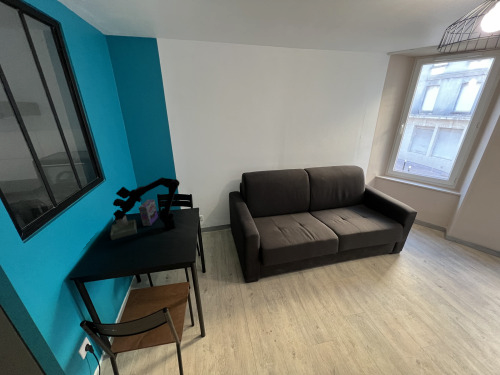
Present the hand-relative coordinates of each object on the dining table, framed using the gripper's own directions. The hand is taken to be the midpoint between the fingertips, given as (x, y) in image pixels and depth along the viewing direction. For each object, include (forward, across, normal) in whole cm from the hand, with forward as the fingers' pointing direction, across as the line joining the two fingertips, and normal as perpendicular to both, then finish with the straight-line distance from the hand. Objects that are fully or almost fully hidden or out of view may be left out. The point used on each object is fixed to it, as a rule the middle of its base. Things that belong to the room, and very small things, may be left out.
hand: (118, 217), depth 135 cm
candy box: (-2, -12, +20) cm, 23 cm away
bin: (+8, 0, +10) cm, 12 cm away
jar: (+4, 0, +6) cm, 7 cm away
